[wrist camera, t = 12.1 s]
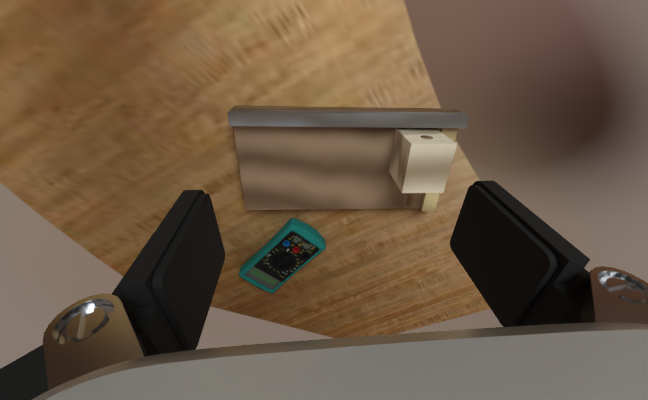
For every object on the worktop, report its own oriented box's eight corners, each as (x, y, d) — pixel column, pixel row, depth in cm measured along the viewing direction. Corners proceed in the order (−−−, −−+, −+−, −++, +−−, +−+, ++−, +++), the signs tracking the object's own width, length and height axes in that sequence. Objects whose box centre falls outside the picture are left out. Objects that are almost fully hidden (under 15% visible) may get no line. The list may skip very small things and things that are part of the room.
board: (234, 105, 34) (227, 112, 31) (455, 108, 35) (469, 115, 32) (248, 202, 41) (243, 216, 38) (430, 201, 42) (440, 214, 39)
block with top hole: (395, 127, 34) (411, 143, 29) (434, 127, 34) (457, 143, 29) (385, 190, 39) (397, 214, 33) (420, 190, 39) (437, 213, 34)
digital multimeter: (328, 237, 46) (329, 248, 43) (273, 284, 51) (271, 297, 48) (294, 212, 43) (293, 223, 40) (239, 265, 48) (235, 278, 45)
